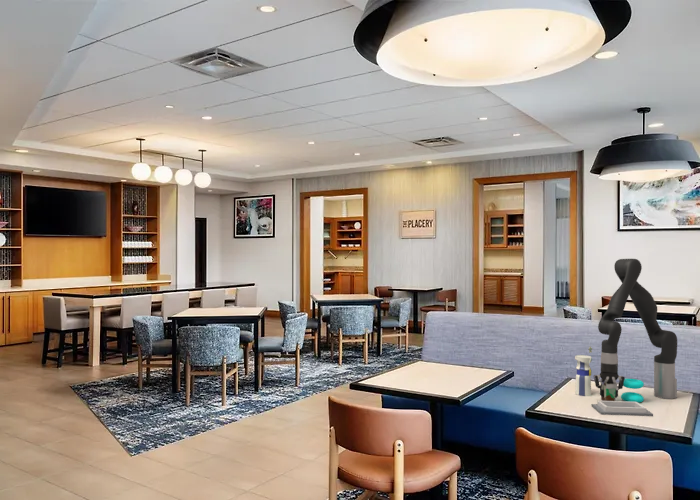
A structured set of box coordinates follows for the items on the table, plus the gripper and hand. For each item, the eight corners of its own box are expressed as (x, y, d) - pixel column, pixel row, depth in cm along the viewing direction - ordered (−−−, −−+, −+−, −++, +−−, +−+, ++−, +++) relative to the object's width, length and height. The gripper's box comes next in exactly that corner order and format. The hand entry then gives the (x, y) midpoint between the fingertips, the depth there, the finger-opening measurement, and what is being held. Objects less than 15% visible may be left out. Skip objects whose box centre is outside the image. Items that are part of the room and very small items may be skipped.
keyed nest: (640, 407, 265) (640, 401, 265) (653, 416, 251) (653, 409, 251) (591, 406, 267) (591, 399, 267) (601, 414, 254) (601, 407, 254)
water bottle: (593, 393, 291) (593, 344, 292) (590, 397, 284) (590, 347, 284) (576, 391, 296) (576, 343, 296) (573, 394, 289) (573, 345, 289)
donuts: (648, 381, 275) (632, 383, 272) (648, 402, 275) (632, 404, 271) (632, 377, 284) (616, 378, 281) (632, 397, 284) (616, 399, 281)
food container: (620, 406, 267) (620, 384, 268) (606, 405, 269) (606, 384, 269) (613, 399, 280) (613, 379, 280) (600, 398, 281) (600, 378, 281)
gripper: (622, 361, 277) (621, 396, 277) (591, 360, 279) (590, 394, 279) (627, 364, 270) (627, 399, 270) (596, 362, 271) (595, 398, 271)
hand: (608, 397), depth 274 cm, fingers closed on food container, 5 cm apart
